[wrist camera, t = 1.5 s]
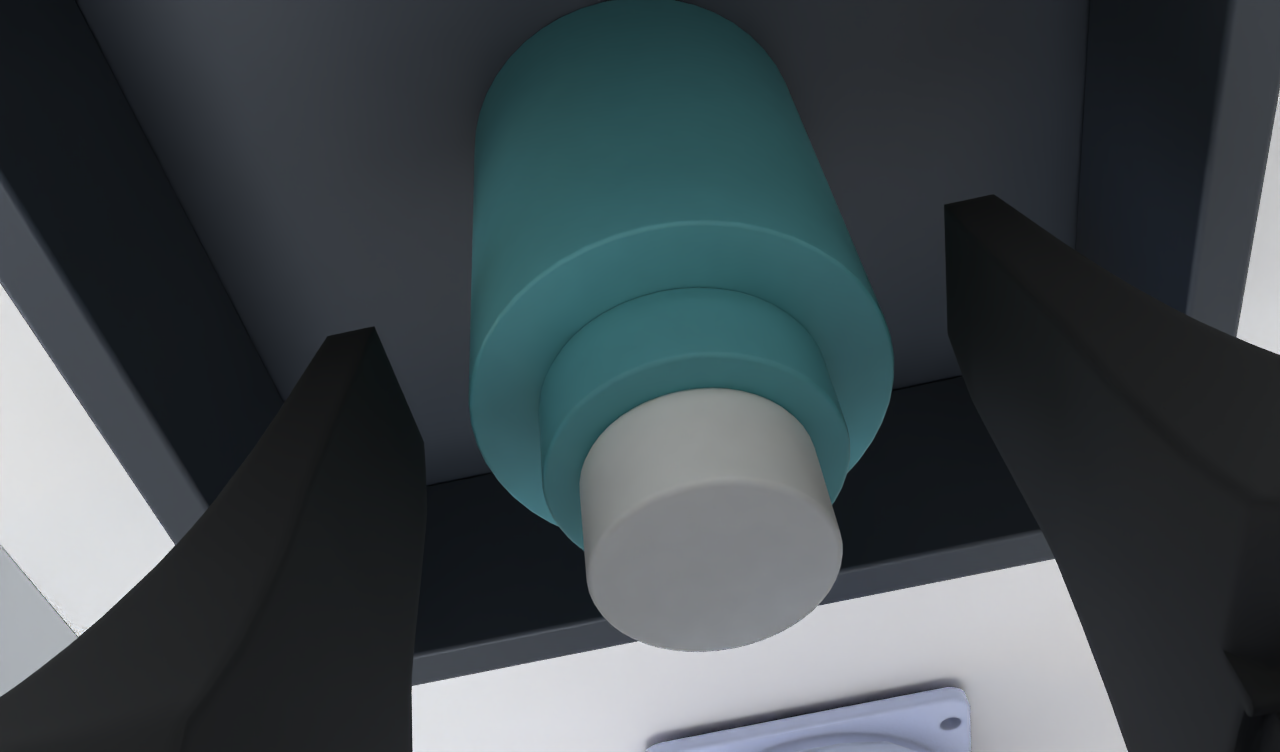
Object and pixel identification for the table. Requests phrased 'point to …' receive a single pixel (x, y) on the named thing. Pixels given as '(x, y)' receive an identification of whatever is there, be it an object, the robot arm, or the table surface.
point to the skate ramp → (26, 627)
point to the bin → (443, 230)
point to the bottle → (669, 322)
